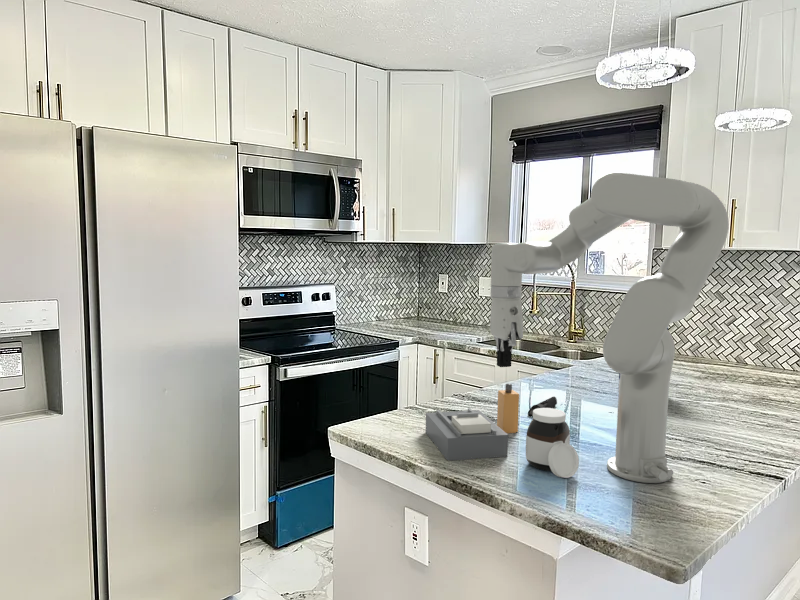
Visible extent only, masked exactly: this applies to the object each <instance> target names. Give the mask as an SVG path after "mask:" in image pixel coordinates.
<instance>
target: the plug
mask: <svg viewBox="0 0 800 600" xmlns="http://www.w3.org/2000/svg"><path fill="white" fill-rule="evenodd" d="M519 405H520V393H519V392H517V391H515V390H514V389H513V383H505V389H500V390H497V410H496V411H497V413H496V414H497V415H496V416H497V419H496V425H497V426H498V427H500V428H501V429H502V430H503V431H504V432H505V433H507V434H517V433H516V432H518V433H519V410H520V408H519Z"/></svg>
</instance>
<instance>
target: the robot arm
mask: <svg viewBox="0 0 800 600" xmlns="http://www.w3.org/2000/svg"><path fill="white" fill-rule="evenodd" d="M592 185H593V186H592V188H591V191H590V198H588V199H587V200H585V201H583V202H581V204H579V205H578V206H576V207H574V208H573V209H572V210H571V211H570V212H569V215H568V220H569V225H568V226H567V228H565V230H563V231H562V232H560V233H559V234H557V235H555V236H554V237H553V238H551V239H550V240H548V241H545V242H544V241H534V242H533V241H526V242H520V243H515V242H497V243H494V244H493V245H492V246H491V257H490V259H491V262H490V263H491V264H490V298H489V299H491V304H490V305H491V307H490V317H489V318H490V319H489V320H490V321H489V322H490V323H489V331H490V332H489V333H490V334H491V336H493V339H494V341H496V342H495V343H496V345H495V346H496V366H497V367H500V368H510V367H512V357H513V355H512V354H513V353H512V352H513V347H516V346H517V340H518V341H521V340H522V339H523V338H524V321H523V320H524V318H523V316H524V315H523V304H522V290H523V289H522V285H523V284H522V281H523V279H522V278H523V275H537V274H551V273H554V272H556V271H559V270H560V269H562V268H564V267H566V266H567V265H569V264H570V263H572V262H574V261H575V260H577V259H579V257H581V256H582V255H583V254H585V253H586V252H587V250H588V249H590V248H591V247H592V246H593V243H595V242H596V241H598V240H600V239H601V238H603V237H604V236H606V235H607V234H609V233H611V232H612V231H614V230H616V229H617V228H620V226H622V225H624V224H625V223H627V222H628V221H630V220H634V221H637V222H639V221H640V222H643V223H650V224H653V225H654V224H655V225H659V226H664V227H665V226H666V227H677V228H679V231H678V235H677V237H676V238H675V239H674V241H673V242H672V243H671V245H670V246H669V248H668V250H667V251H666V254H665V256H664V259H663V261H662V263H661V265H660V266H659V268H658V270H657V272H656V273H655V274H654V275H650V276H646V277H644V278H641V279H639V280H638V281H636V282H635V283H633V284H632V286H631V287H630V288H629V289H628V291H627V292H626V293H625V295H624V297H623V299H622V301H621V303H620V305H619V306H618V307H619V308H617V309H618V310H617V312H616V314H615V316H614V318H613V320H612V322H611V324H610V325H609V329H608V331H607V332H606V335H605V337H604V341H603V343H602V344H603V345H602V354H603V358H604V361H605V364H606V365H607V366H608V367H609V368H610V370H613V371H614V372H615V373H618V374H619V373H620V374H621V377H620V384H619V383H618V387H619V388H618V397H617V398H618V400H617V417H616V435H615V439H616V440H615V454H614V455H615V456H612V457H610V458H609V459H608V460H607V461H606V462H607V463H606V467H607V470H608V471H609V472H611V473H612V474H613V475H615V476H617V477H620V478H622V479H625V480H627V481H628V480H629V481H631V482H636V483H645V484H659V483H664V482H668V481H670V480H671V479H672V476H673V475H674V471H673V469H671V468H670V466H668V458H667V457H666V443H667V442H666V441H667V428H668V427H667V425H668V424H667V423H668V409H669V397H670V383H671V375H672V370H673V366H674V365H673V364H674V359H675V355H676V354H675V353H676V348H675V347H676V345H675V341H674V337H673V336H672V334H671V332H670V331H669V329H668V330H667V327H668V328H669V327H670V324H672V323H673V324H674V323H676V322H679V321H681V320H683V319H685V318H686V317H687V316H688V315H690V312H691V311H692V309H693V307H694V305H695V303H696V301H697V299H698V297H699V295H700V292H701V291H702V290H703V288H704V286H705V283H706V282H707V280H708V278H709V276H710V273H711V271H712V269H713V267H714V265H715V263H716V261H717V259H718V258H719V256H720V254H721V252H722V250H723V247H724V245H725V243H726V240H727V237H728V233H729V225H730V223H729V221H730V220H729V216H728V215H729V214H728V211H727V208H726V207H725V205H724V203H723V202H722V201H721V199H720V198H719V197H718V195H716V193H714V192H713V191H712V190H711V189H710V188H708V187H706V186H704V185H701V184H699V183H695V182H689V181H685V180H681V179H676V178H669V177H668V178H667V177H658V176H651V175H643V174H642V175H641V174H635V173H628V172H623V171H611V172H607V173H605V174H603V175H601V176H600V177H598V179H597V180H596V181H595V182H594V183H593V184H592Z"/></svg>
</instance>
